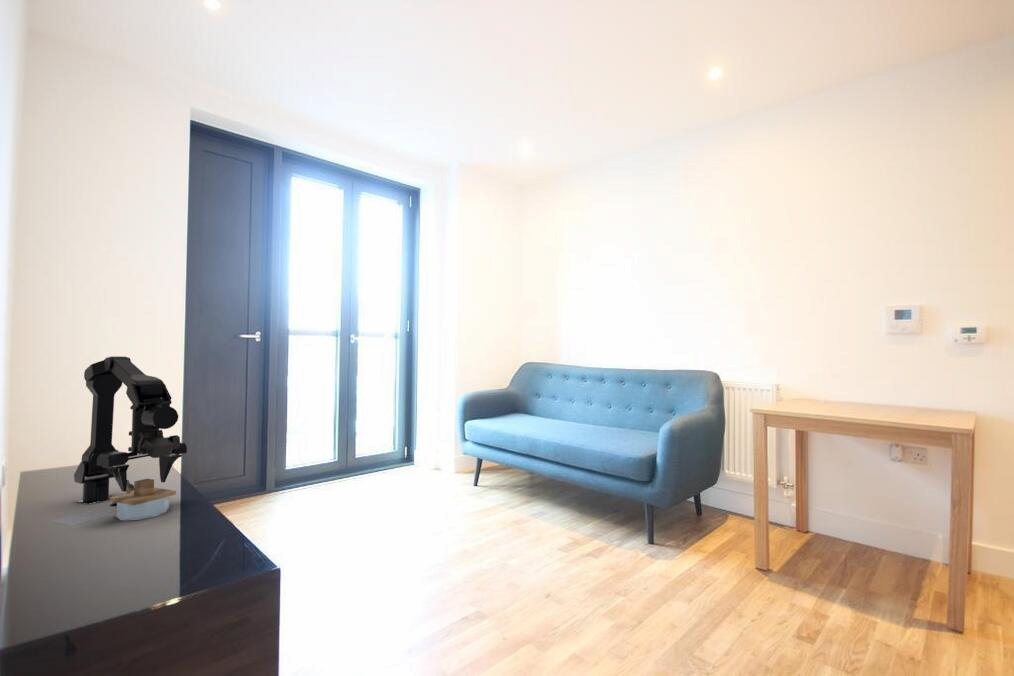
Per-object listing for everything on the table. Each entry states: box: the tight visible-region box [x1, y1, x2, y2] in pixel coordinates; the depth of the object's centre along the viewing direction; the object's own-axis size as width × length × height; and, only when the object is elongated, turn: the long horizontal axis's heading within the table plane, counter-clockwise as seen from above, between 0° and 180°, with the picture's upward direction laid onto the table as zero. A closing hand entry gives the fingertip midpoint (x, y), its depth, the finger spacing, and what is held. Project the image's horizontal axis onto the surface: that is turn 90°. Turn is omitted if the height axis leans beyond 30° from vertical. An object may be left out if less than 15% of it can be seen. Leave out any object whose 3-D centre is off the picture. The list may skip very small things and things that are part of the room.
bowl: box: [116, 496, 170, 521], centre depth 120 cm, size 10×10×4 cm
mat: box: [51, 508, 117, 527], centre depth 118 cm, size 10×10×1 cm
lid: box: [109, 478, 177, 505], centre depth 120 cm, size 10×10×4 cm
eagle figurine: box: [109, 479, 134, 507], centre depth 130 cm, size 8×7×9 cm
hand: (144, 486), depth 120 cm, fingers open, 9 cm apart
